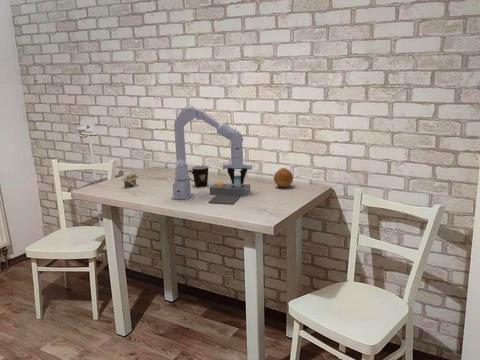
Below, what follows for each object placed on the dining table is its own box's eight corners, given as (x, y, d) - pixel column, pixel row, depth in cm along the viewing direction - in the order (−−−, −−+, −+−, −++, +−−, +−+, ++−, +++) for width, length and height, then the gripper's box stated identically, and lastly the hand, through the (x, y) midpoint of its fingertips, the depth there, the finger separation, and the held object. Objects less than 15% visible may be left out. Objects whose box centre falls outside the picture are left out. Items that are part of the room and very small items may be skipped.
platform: (151, 185, 249) (150, 173, 248) (126, 192, 235) (125, 180, 234) (136, 182, 256) (135, 171, 254) (110, 189, 242) (109, 177, 240)
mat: (233, 204, 207) (233, 203, 207) (208, 203, 211) (208, 202, 210) (240, 197, 219) (240, 196, 218) (216, 196, 222) (216, 195, 222)
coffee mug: (210, 183, 246) (209, 165, 244) (207, 187, 238) (207, 169, 236) (189, 183, 248) (188, 165, 245) (186, 187, 239) (184, 169, 237)
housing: (245, 196, 220) (245, 189, 219) (209, 194, 225) (208, 187, 224) (250, 190, 229) (250, 184, 228) (215, 189, 234) (215, 182, 233)
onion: (270, 186, 237) (270, 167, 235) (287, 183, 241) (287, 165, 238) (278, 190, 229) (278, 171, 226) (296, 188, 232) (296, 168, 230)
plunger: (222, 192, 226) (222, 184, 225) (215, 191, 227) (215, 184, 226) (224, 190, 229) (224, 182, 228) (218, 190, 230) (217, 182, 229)
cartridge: (240, 193, 223) (240, 177, 222) (233, 193, 224) (232, 177, 223) (243, 191, 227) (242, 175, 225) (235, 190, 228) (234, 175, 226)
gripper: (253, 155, 223) (254, 182, 227) (225, 154, 227) (226, 181, 230) (249, 157, 217) (250, 185, 220) (220, 157, 221) (221, 184, 224)
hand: (237, 183), depth 225 cm, fingers closed on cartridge, 4 cm apart
